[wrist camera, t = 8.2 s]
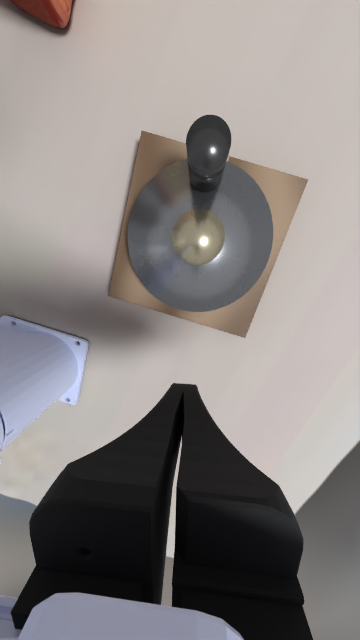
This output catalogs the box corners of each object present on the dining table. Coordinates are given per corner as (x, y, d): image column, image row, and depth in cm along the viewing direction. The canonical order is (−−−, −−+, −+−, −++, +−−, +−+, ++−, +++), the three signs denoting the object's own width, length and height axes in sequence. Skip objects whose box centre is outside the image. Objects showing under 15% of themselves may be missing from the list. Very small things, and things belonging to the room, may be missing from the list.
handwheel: (253, 316, 17) (274, 331, 13) (129, 302, 18) (107, 312, 13) (281, 167, 15) (320, 120, 10) (135, 158, 15) (109, 109, 11)
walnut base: (114, 294, 20) (107, 295, 18) (146, 143, 16) (141, 129, 15) (241, 333, 19) (245, 338, 18) (298, 187, 16) (308, 179, 15)
